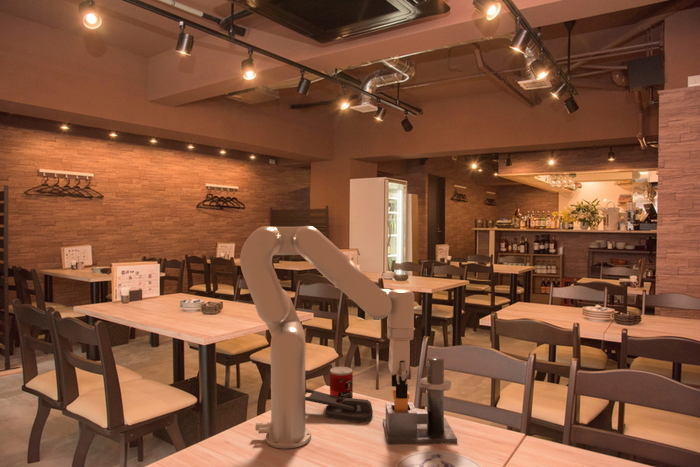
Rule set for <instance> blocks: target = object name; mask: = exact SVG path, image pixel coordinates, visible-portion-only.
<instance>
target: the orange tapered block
mask: <svg viewBox="0 0 700 467" xmlns="http://www.w3.org/2000/svg"><path fill="white" fill-rule="evenodd" d="M392 397H393V403H394V410H408V402H409V400H410V392H409V391H408V394H407V399H397V398H396V389H395V390H392Z"/></svg>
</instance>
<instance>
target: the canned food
mask: <svg viewBox="0 0 700 467" xmlns="http://www.w3.org/2000/svg"><path fill="white" fill-rule="evenodd" d="M353 374H354V373H353V369H352V368H351V367H348V366H334V367H332V368H330V369H329V395H333V396H336V397H340V398H353V392H354V391H353V388H354V386H353V385H354V383H353V382H354V381H353V380H354V379H353V378H354V377H353ZM336 403H340V404H342V402H340V401H337V402H336Z"/></svg>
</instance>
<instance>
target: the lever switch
mask: <svg viewBox="0 0 700 467" xmlns="http://www.w3.org/2000/svg"><path fill="white" fill-rule="evenodd" d="M419 386H420V388H421V389H423V390H425V391H426V408H425V409H424V408H423V409H416V408H415V405H414V403H413V401H412V402H410V401H408V410H394V402H385V418H382V424H383V428H384V432H385V438H386V442H387V445H403V444H404V445H412V444H413V445H416V444H418V445H420V444H424V445H425V444H458V437H457V436H456V434H455V433H454V431H453V429H452V427H451V425H450V424H449V422H448V421H447V419H446V418H447V417H445V414H444V413H445V392H446V391H449V390H451V389H452V381H451V380H450V379H448V378H446V377H445V359H444V358H443V357H441V356H429V357H427V358H426V376H425V377H421V378H420V380H419Z"/></svg>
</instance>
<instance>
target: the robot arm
mask: <svg viewBox="0 0 700 467" xmlns="http://www.w3.org/2000/svg"><path fill="white" fill-rule="evenodd" d="M291 255H292V256H296V255H297V256H298V255H300V256H301V257H302V258H304V259H305V261H306V262H308V263H309V264H310V265H311V266H312V267H313V268H314V269H315V270H317V272H319V273H320V274H321V275H322V276H323V277H324V278H326V280H328V281H329V282H330V283H331V284H332V285H333V286H335V287H336V288H337V289H339V290H340V291H341V292H343V294H345V296H347V297H348V298H349V299H350V300H351V301H353V302H354V303H355V304H356V305H357V306H358V307H359V308H360V309H361V310H362V311H363V312H365V313H366V314H367V315H368V316H369V317H371V318H372V319H375V320H382V319H385V318H387V329H386V330H387V332H386V335H387V336H386V337H387V339H388V340H389V349H388V350H389V351H388V370H389V371H390V374H391V386H392V387H395V390H396V398H397V399H407V394H408V392H409V390H408V386H409V385H408V376H409V374H410V362H411V360H410V358H411V356H410V355H411V354H410V351H411V346H410V345H411V344H410V342H411V341H412V340H414V328H415V326H414V325H415V324H414V323H415V294H414V291H412V290H410V289H403V288H396V289H385V288H381V287H379V285H378V284H376V283H375V282H374V281H373V280H372V279H371V278H369V277H368V276H367V275H366V273H364V272H363V271H362V270H361V269H360V268H359V267H358V266H357V265H356V263H355V262H353V260H351V259H350V258H349V256H347V255H346V254H345V253H344V252H343V251H342V250H341V249H340V248H339V247H338V246H336V244H334V243H333V242H332V241H331V240H329V238H327V236H325V235H324V234H323V233H322V232H321V231H320V230H318V229H317V228H316V227H314V226H311V225H305V226H302V225H301V226H268V225H267V226H260V227H258V228H256V229H255V230H254V231H253V232H251V233H250V235H249V236H248V237H247V238H246V240H245V242H244V243H243V245H242V247H241V250H240V256H239V265H240V268H241V273H242V275H243V276H242V277H243V278H244V280H245V283H246V285H247V289H248V292H249V294H250V296H251V298H252V301H253V303H254V306H255V307H254V308H255V309H256V312H257V315H258V317H259V318H260V319H261V321H262V322H264V323H265V325H266V327H267V329H268V331H269V333H270V336H271V340H270V348H269V350H270V352H269V354H270V355H269V356H270V390H271V391H270V400H271V401H270V406H271V407H270V408H271V409H270V411H271V412H270V413H271V414H270V417H271V419H270V421H268V422H266V423H263V422H260V423H259V422H256V423H255V431H258V434H265V442H266V443H267V444H268V446H271V447H272V448H276V449H283V450H284V449H287V450H288V449H294V448H299V447H302V446H304V445H305V444H308V443H309V442H310V440H311V438H312V432H311V430H309V428H307V427H306V401H305V397H306V392H305V388H306V355H307V354H306V353H307V352H306V351H307V350H306V349H307V348H306V345H307V344H306V335H305V330H304V328H303V325H302V322H301V321H300V318H299V316H298V313H297V311H296V309H295V306H294V304H293V301H292V299H291V296H290V294H289V292H287V291H286V290H285V289H283V287H282V286H281V283H280V280H279V277H278V275H277V273H276V271H275V268H274V265H273V256H291Z"/></svg>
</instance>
